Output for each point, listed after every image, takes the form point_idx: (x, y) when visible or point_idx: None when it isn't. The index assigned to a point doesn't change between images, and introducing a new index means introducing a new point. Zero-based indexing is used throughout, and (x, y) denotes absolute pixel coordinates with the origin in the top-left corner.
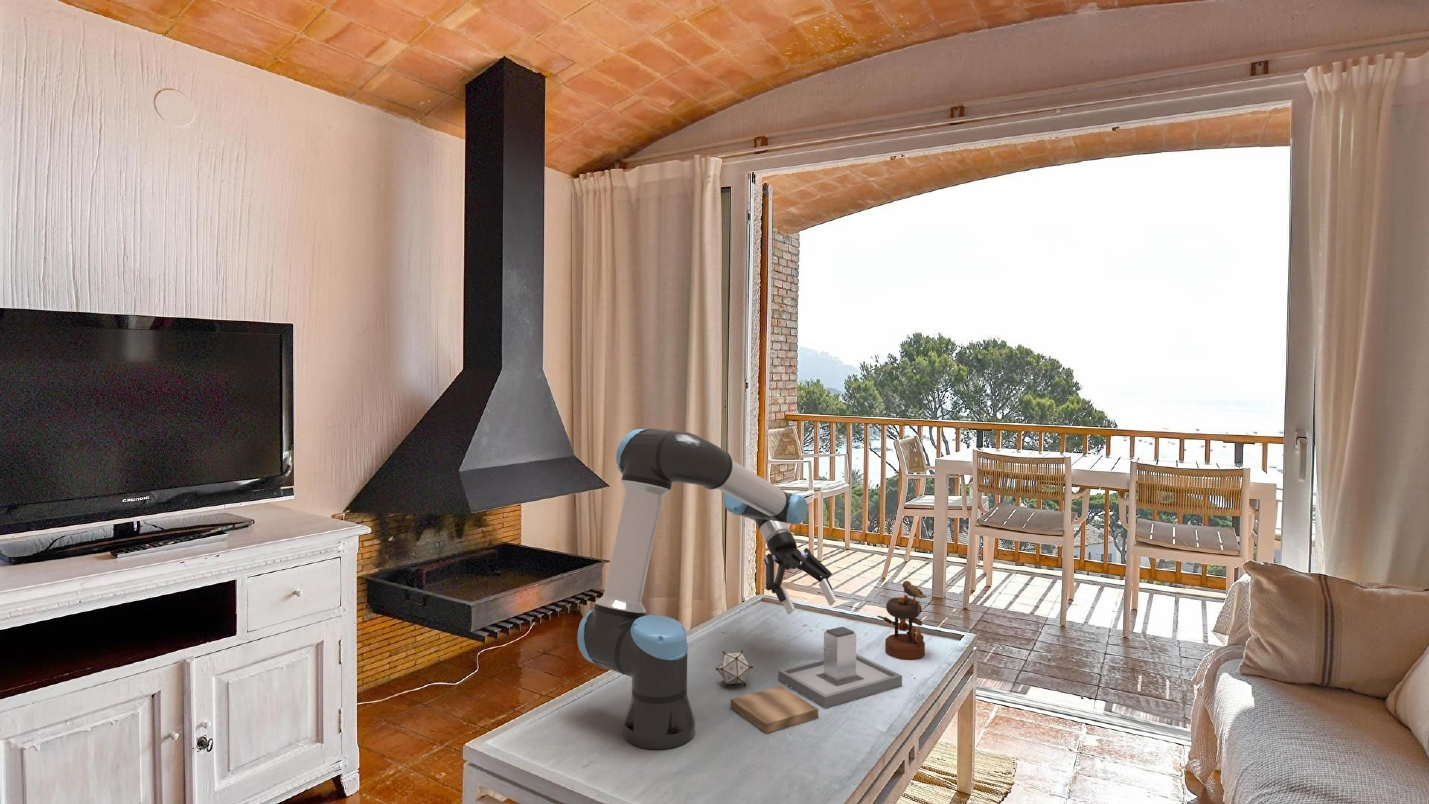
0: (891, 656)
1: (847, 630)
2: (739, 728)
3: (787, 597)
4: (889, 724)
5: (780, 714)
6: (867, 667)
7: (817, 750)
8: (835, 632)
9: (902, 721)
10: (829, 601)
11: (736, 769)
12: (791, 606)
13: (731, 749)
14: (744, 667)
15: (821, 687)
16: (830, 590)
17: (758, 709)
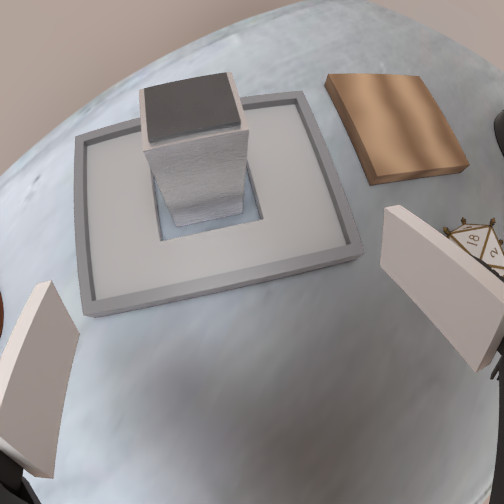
0: (2, 305)
1: (158, 100)
2: (447, 112)
3: (450, 244)
4: (215, 43)
5: (396, 86)
6: (98, 223)
7: (352, 34)
8: (217, 93)
9: (188, 45)
10: (67, 335)
11: (444, 53)
12: (408, 213)
13: (452, 80)
14: (461, 229)
15: (280, 149)
16: (18, 334)
17: (429, 113)
